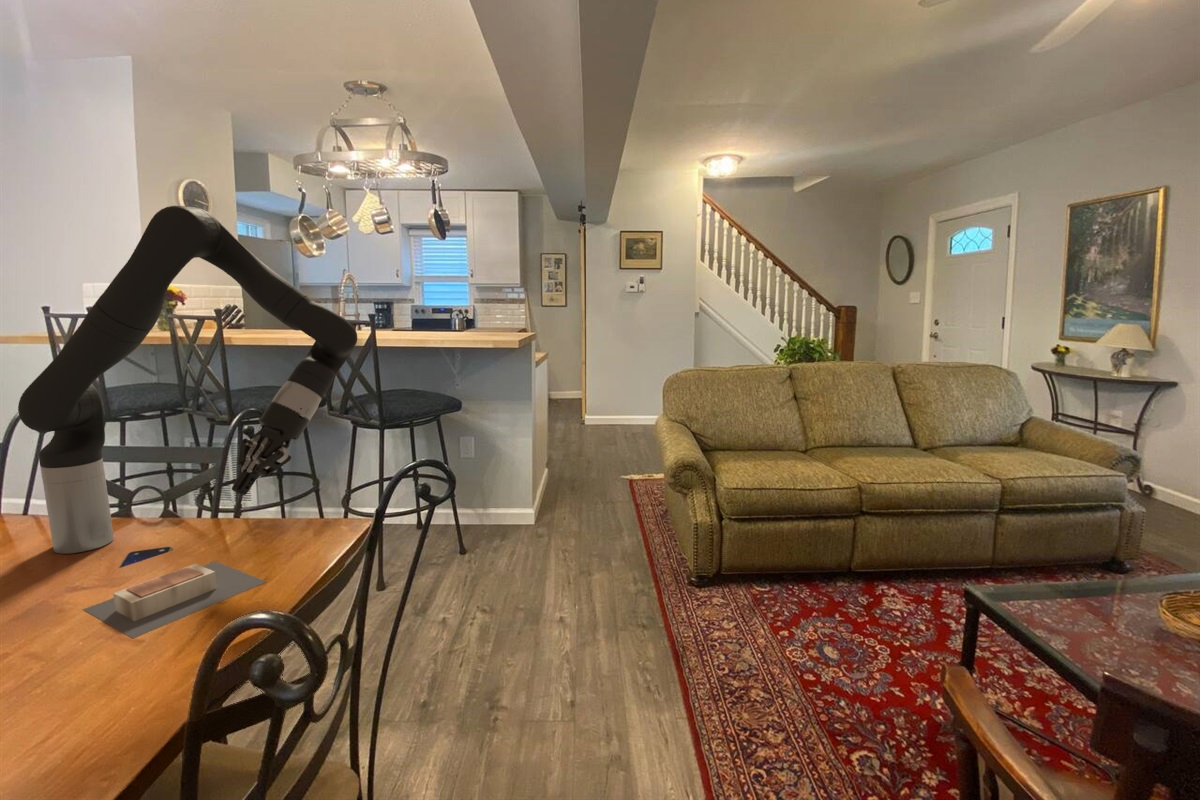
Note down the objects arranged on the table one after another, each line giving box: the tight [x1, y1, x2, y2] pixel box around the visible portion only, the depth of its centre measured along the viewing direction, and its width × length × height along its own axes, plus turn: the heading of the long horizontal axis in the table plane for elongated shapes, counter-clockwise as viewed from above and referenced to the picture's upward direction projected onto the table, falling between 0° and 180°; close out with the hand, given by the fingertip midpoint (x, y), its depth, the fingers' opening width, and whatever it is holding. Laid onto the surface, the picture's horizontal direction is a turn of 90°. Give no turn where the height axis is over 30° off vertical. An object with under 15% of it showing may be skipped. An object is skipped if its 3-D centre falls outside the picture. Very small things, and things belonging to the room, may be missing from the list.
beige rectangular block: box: [112, 563, 217, 621], centre depth 97 cm, size 6×3×12 cm
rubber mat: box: [82, 561, 267, 639], centre depth 99 cm, size 16×20×1 cm
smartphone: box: [118, 546, 174, 569], centre depth 110 cm, size 7×1×15 cm
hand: (238, 492), depth 108 cm, fingers closed
